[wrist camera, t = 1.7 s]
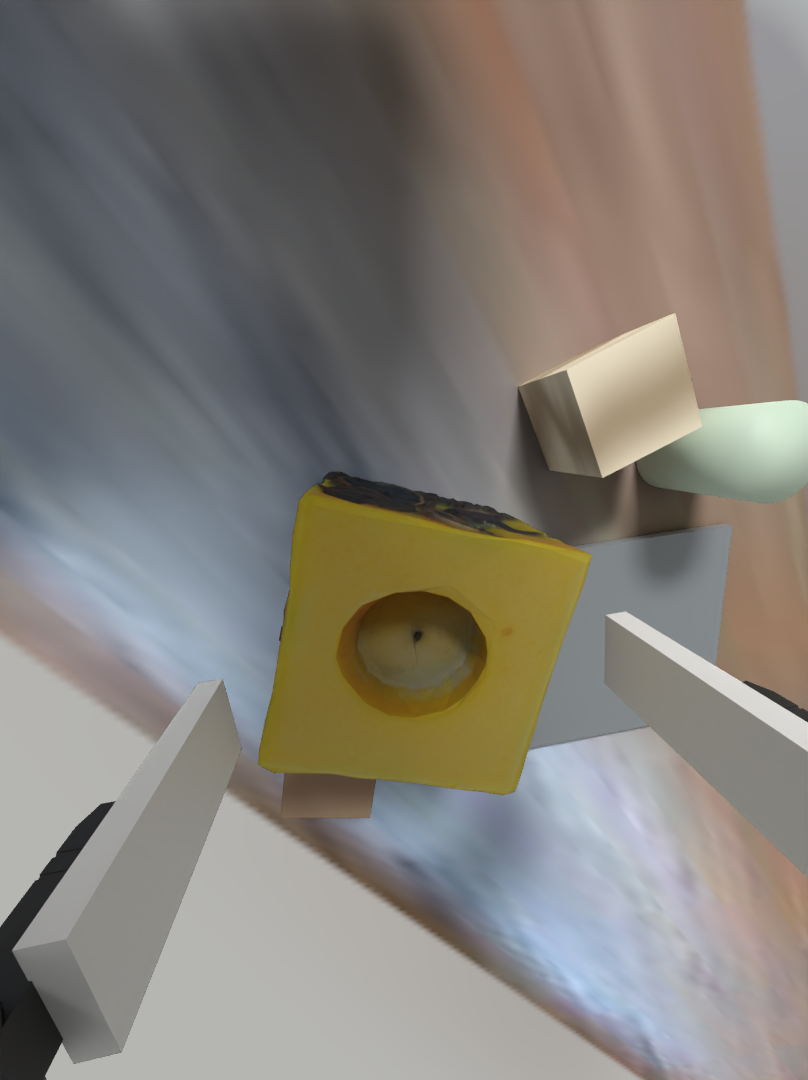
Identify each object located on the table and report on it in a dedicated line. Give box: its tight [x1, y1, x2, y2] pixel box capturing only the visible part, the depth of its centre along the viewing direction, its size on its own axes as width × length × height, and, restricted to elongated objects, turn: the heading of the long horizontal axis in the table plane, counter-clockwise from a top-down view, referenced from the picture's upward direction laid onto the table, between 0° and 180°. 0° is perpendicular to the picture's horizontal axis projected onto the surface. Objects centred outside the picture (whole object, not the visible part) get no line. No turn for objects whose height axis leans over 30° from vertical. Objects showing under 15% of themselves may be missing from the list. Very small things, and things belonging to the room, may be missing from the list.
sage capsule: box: [636, 400, 808, 503], centre depth 19 cm, size 4×4×6 cm
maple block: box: [518, 313, 702, 478], centre depth 18 cm, size 5×5×5 cm
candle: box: [258, 472, 592, 795], centre depth 17 cm, size 10×10×10 cm
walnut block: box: [281, 773, 376, 818], centre depth 23 cm, size 5×5×4 cm
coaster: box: [529, 523, 732, 749], centre depth 25 cm, size 14×14×1 cm
